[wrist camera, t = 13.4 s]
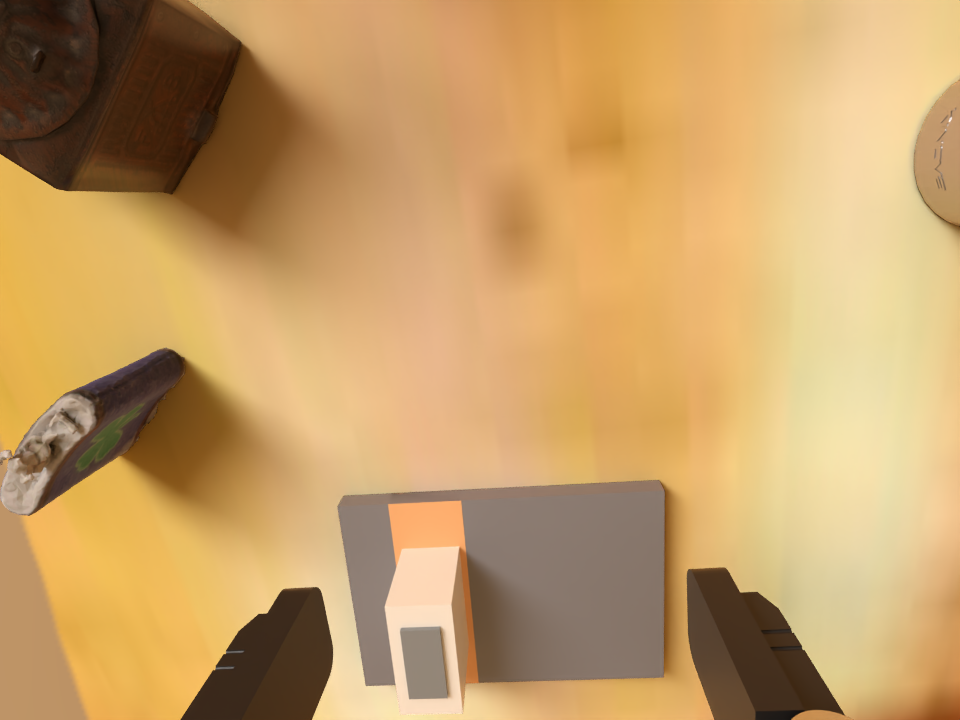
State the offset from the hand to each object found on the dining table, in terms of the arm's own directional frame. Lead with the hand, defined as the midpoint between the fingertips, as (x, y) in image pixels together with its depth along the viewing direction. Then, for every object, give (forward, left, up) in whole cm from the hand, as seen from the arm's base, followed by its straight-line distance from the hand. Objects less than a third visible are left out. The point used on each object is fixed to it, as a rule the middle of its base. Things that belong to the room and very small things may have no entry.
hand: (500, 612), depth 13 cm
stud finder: (+6, +18, -25) cm, 31 cm away
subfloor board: (+1, +18, -26) cm, 32 cm away
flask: (+25, +3, -26) cm, 36 cm away
